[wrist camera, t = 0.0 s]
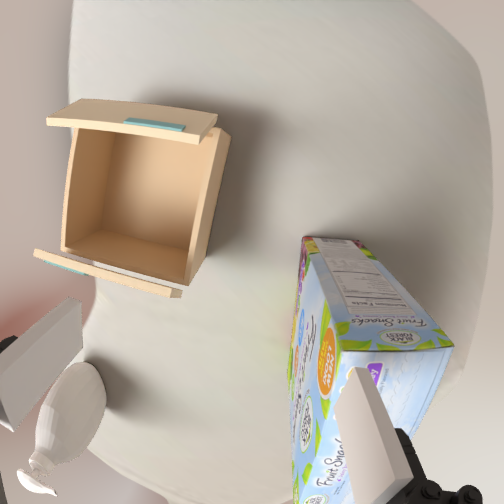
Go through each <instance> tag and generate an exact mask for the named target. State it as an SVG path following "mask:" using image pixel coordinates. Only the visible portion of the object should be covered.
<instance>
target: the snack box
mask: <svg viewBox="0 0 504 504" xmlns="http://www.w3.org/2000/svg"><path fill="white" fill-rule="evenodd" d="M453 349H454V344H453V343H452V342H451V340H450V339H449V338H448V337H447V335H446V334H445V333H444V332H443V331H442V330H441V328H440V327H439V326H438V325H437V324H436V323H435V322H434V321H433V319H432V318H431V317H430V316H429V315H428V313H427V312H426V311H425V310H424V309H423V308H422V307H421V306H420V305H419V303H418V302H417V301H416V300H415V299H414V298H413V297H412V296H411V295H410V294H409V292H408V291H407V290H406V289H405V288H404V287H403V286H402V285H401V284H400V283H399V282H398V281H397V280H396V279H395V277H394V276H393V275H392V274H391V273H390V272H389V271H388V270H387V269H386V268H385V267H384V266H383V265H382V264H381V263H380V262H379V261H378V260H377V259H376V258H375V257H374V256H373V254H372V253H371V252H370V251H369V250H368V249H367V248H366V247H365V246H364V245H363V244H362V243H361V242H360V241H358V240H357V241H352V240H340V239H327V238H313V237H302V245H301V254H300V263H299V273H298V282H297V292H296V301H295V310H294V320H293V329H292V337H291V347H290V356H289V365H288V370H287V373H288V390H289V406H290V425H291V447H292V471H293V498H294V504H355V501H354V497H353V492H352V487H351V482H350V478H349V473H348V469H347V464H346V460H345V455H344V451H343V447H342V442H341V438H340V434H339V429H338V425H337V421H336V417H335V413H334V409H333V407H334V405H335V403H336V401H337V400H338V398H339V396H340V394H341V392H342V390H343V388H344V386H345V384H346V382H347V380H348V378H349V376H350V374H351V372H352V370H353V368H354V367H361V368H368V369H369V371H370V373H371V376H372V378H373V380H374V382H375V385H376V387H377V389H378V391H379V394H380V396H381V398H382V401H383V403H384V405H385V408H386V410H387V412H388V415H389V417H390V419H391V422H392V424H393V427H394V428H402V429H403V430H404V432H405V433H406V434H407V435H408V436H409V438H410V440H411V439H412V438H413V436H414V434H415V432H416V430H417V429H418V427H419V425H420V423H421V421H422V419H423V417H424V415H425V413H426V411H427V409H428V407H429V405H430V403H431V401H432V399H433V397H434V394H435V392H436V390H437V388H438V386H439V383H440V381H441V379H442V376H443V374H444V371H445V369H446V366H447V364H448V361H449V359H450V356H451V354H452V351H453Z"/></svg>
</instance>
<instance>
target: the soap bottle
mask: <svg viewBox="0 0 504 504" xmlns="http://www.w3.org/2000/svg"><path fill="white" fill-rule="evenodd" d="M106 402H107V398H106V391H105V387H104V384H103V381H102V379H101V377H100V375H99V373H98V371H97V370H96V368H95V367H94V366H93V365H91V364H89V363H86V362H79V363H74V364H73V365H71V366H70V367H69V368H67V369H66V370H65V371H64V372H63V373H62V374H61V376H60V377H59V378H58V379H57V381H56V382H55V384H54V385H53V386H52V388H51V390H50V391H49V393H48V395H47V397H46V399H45V401H44V403H43V404H42V406H41V410H40V413H39V417H38V421H37V426H36V447H35V451H34V453H33V454H32V456H31V457H30V459H29V463H30V467H31V468H32V469H33V471H32V473H31V474H30V473H28V472H27V471H25V470H23V469H19V470H18V471H17V476H18V478H19V480H20V482H21V483H22V485H23V486H24V487H25V488H27V489H28V490H30V491H32V492H35V493H50V494H52V495H55V496H58V494H57V492H56V491H55V490H54V489H53V487H50V486H48V485H46V484H44V483H43V482H41V481H40V480H38V479H37V478H38V476H39V475H42V476H49V475H50V474H51V472H52V470H53V468H54V467H55V466H56V465H57V464H61V463H66V462H70V461H72V460H73V459H75V458H77V457H79V456H80V455H81V454H82V453H83V451H84V450H85V449H86V447H87V446H88V445H89V443H90V442H91V440H92V438H93V437H94V435H95V433H96V431H97V429H98V427H99V425H100V423H101V420H102V418H103V415H104V411H105V407H106Z"/></svg>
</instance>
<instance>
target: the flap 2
mask: <svg viewBox="0 0 504 504" xmlns="http://www.w3.org/2000/svg"><path fill="white" fill-rule="evenodd" d="M33 256H35V257H38V258H40V259H43V260H44V262H46V263H49V264H52V265H55V266H58V267H61V268H64V269H67V270H70V271H73V272H76V273H79V274H82V275H87V276H88V275H93V276H96V277H99V278H102V279H105V280H109V281H112V282H115V283H119V284H122V285H126V286H129V287H133V288H136V289H140V290H143V291H147V292H150V293H154V294H158V295H161V296H165V297H169V298H181V295H182V291H183V290H180V289H176V288H172V287H168V286H164V285H161V284H157V283H153V282H149V281H146V280H142V279H138V278H135V277H131V276H128V275H124V274H121V273H117V272H114V271H110V270H107V269H103V268H100V267H97V266H93V265H90V264H86V263H83V262H80V261H77V260H73V259H70V258H67V257H64V256H60V255H56V254H53V253H50V252H46V251H43V250H39V249H36V248H35V251H34V255H33Z"/></svg>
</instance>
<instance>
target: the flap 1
mask: <svg viewBox="0 0 504 504" xmlns="http://www.w3.org/2000/svg"><path fill="white" fill-rule="evenodd" d="M217 117H218V114H214V113H208V112H203V111H197V110H190V109H184V108H177V107H170V106H162V105H154V104H146V103H136V102H126V101H114V100H99V99H80V100H78V101H76V102H74V103H72V104H70V105H68V106H67V107H64V108H63V109H61V110H59V111H57V112H55V113H53V114H52V115H50V116H48V117H46V119H47V125H49V126H62V127H74V128H85V129H95V130H104V131H112V132H120V133H128V134H135V135H142V136H149V137H155V138H161V139H167V140H173V141H179V142H185V143H190V144H196V145H199V144H200V143H201V141H202V140H203V139H204V137H205V136H206V135H207V134H208V132H209V131H210V130H211V128H212V127H213V126H214V125H215V123H216V122H217Z"/></svg>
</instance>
